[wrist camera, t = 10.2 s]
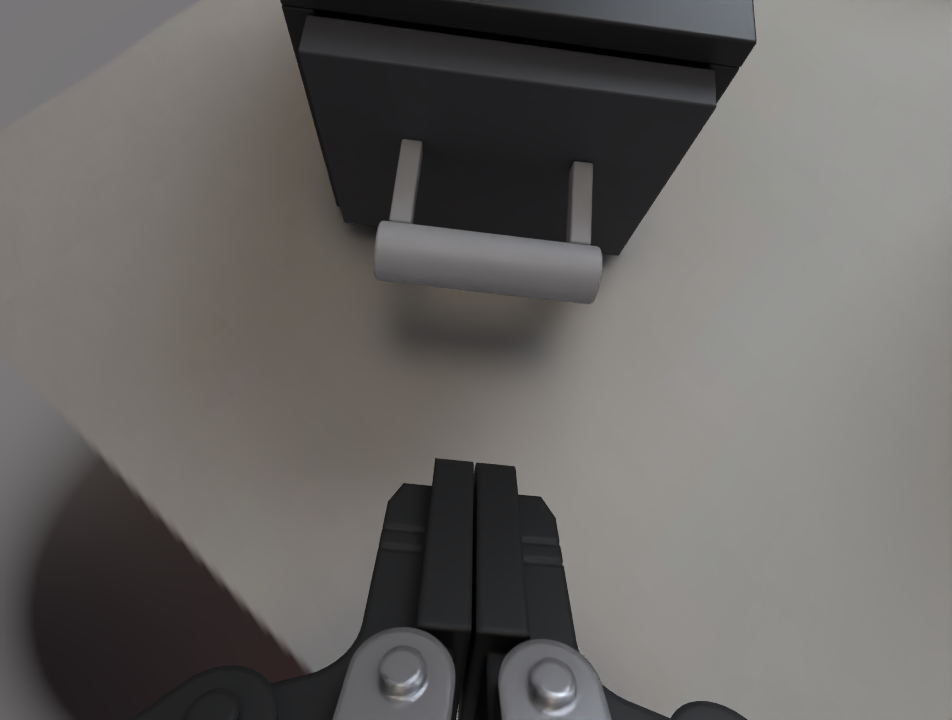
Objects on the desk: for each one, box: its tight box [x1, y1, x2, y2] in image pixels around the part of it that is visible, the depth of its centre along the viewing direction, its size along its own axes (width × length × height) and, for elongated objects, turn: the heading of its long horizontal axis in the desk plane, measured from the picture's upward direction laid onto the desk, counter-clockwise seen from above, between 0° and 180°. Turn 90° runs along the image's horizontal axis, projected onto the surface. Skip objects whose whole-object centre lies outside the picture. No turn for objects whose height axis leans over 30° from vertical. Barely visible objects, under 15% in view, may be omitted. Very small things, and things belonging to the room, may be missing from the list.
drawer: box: [298, 14, 716, 304], centre depth 19 cm, size 17×10×8 cm, turn 175°
